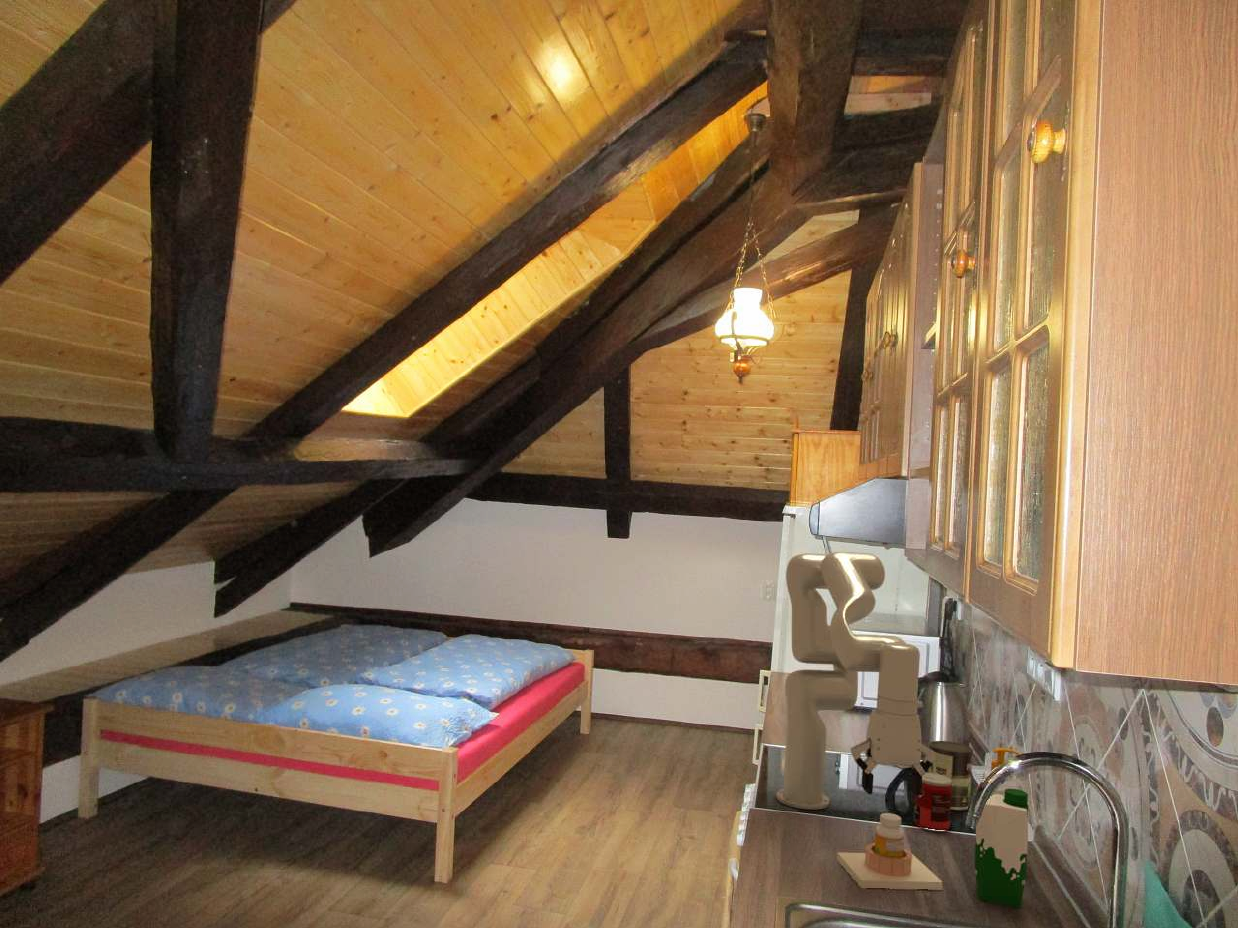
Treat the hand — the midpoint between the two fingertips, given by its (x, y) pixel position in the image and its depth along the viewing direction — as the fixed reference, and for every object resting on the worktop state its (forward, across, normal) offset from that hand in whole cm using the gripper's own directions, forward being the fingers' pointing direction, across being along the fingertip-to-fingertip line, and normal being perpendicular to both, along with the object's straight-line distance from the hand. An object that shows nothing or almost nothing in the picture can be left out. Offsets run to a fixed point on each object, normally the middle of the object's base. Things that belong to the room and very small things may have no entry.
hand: (891, 792), depth 176 cm
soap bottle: (+16, -28, -8) cm, 33 cm away
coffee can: (+17, -34, -42) cm, 57 cm away
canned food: (+16, -22, -26) cm, 38 cm away
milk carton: (+16, -18, +10) cm, 26 cm away
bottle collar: (+14, 0, +1) cm, 14 cm away
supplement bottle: (+14, 0, +1) cm, 15 cm away
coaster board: (+16, 0, +1) cm, 16 cm away
